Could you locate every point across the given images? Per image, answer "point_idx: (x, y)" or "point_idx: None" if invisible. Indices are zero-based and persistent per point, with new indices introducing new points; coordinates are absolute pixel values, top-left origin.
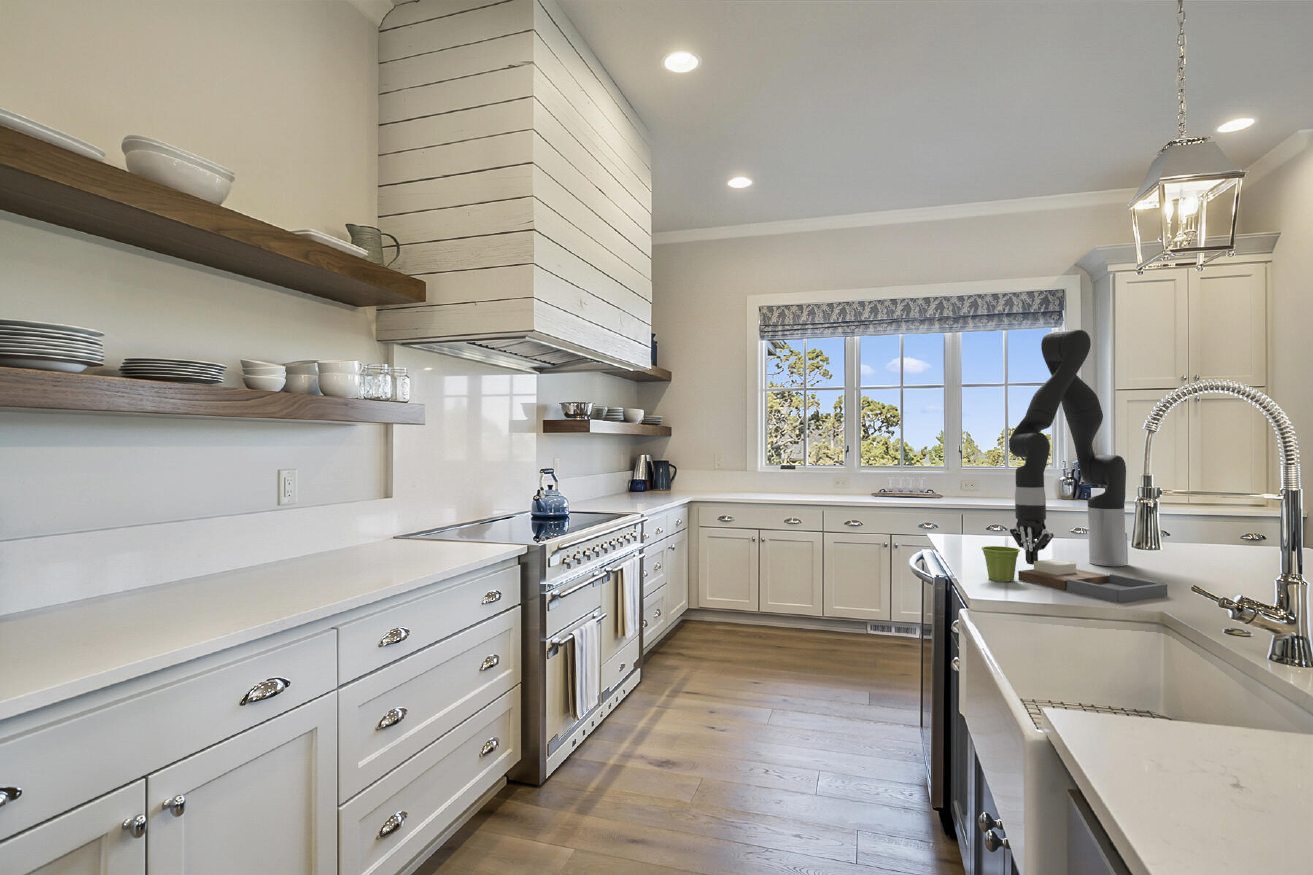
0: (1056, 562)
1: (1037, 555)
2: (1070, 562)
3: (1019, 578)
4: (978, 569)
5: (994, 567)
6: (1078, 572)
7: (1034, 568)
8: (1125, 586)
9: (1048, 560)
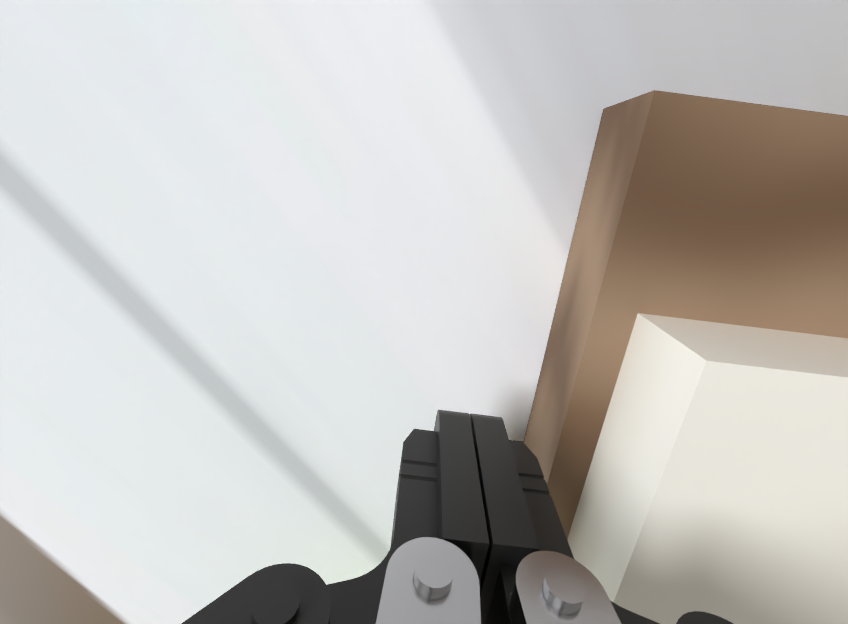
0: (838, 530)
1: (557, 523)
2: None
3: None
4: (74, 490)
5: None
6: None
7: (580, 558)
8: None
9: (704, 485)
